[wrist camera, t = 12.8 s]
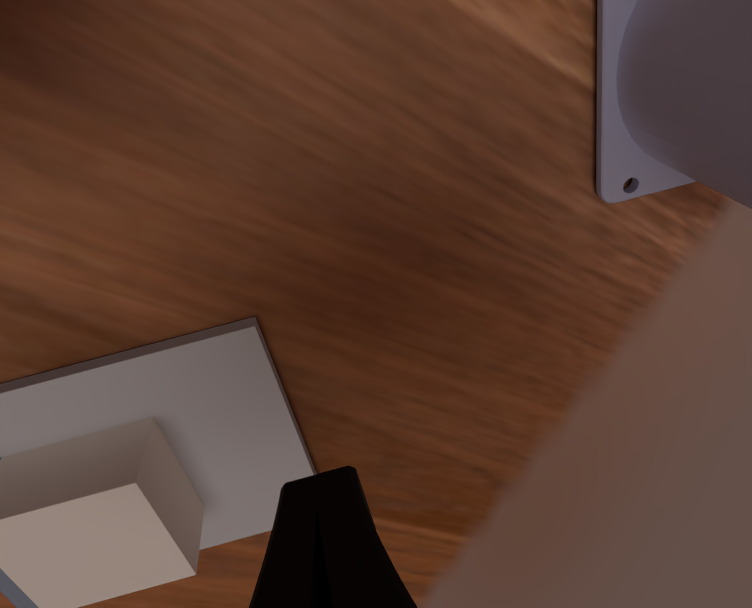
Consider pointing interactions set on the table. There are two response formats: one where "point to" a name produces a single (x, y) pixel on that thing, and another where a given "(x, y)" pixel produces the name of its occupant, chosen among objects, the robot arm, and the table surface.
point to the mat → (180, 418)
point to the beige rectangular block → (96, 518)
